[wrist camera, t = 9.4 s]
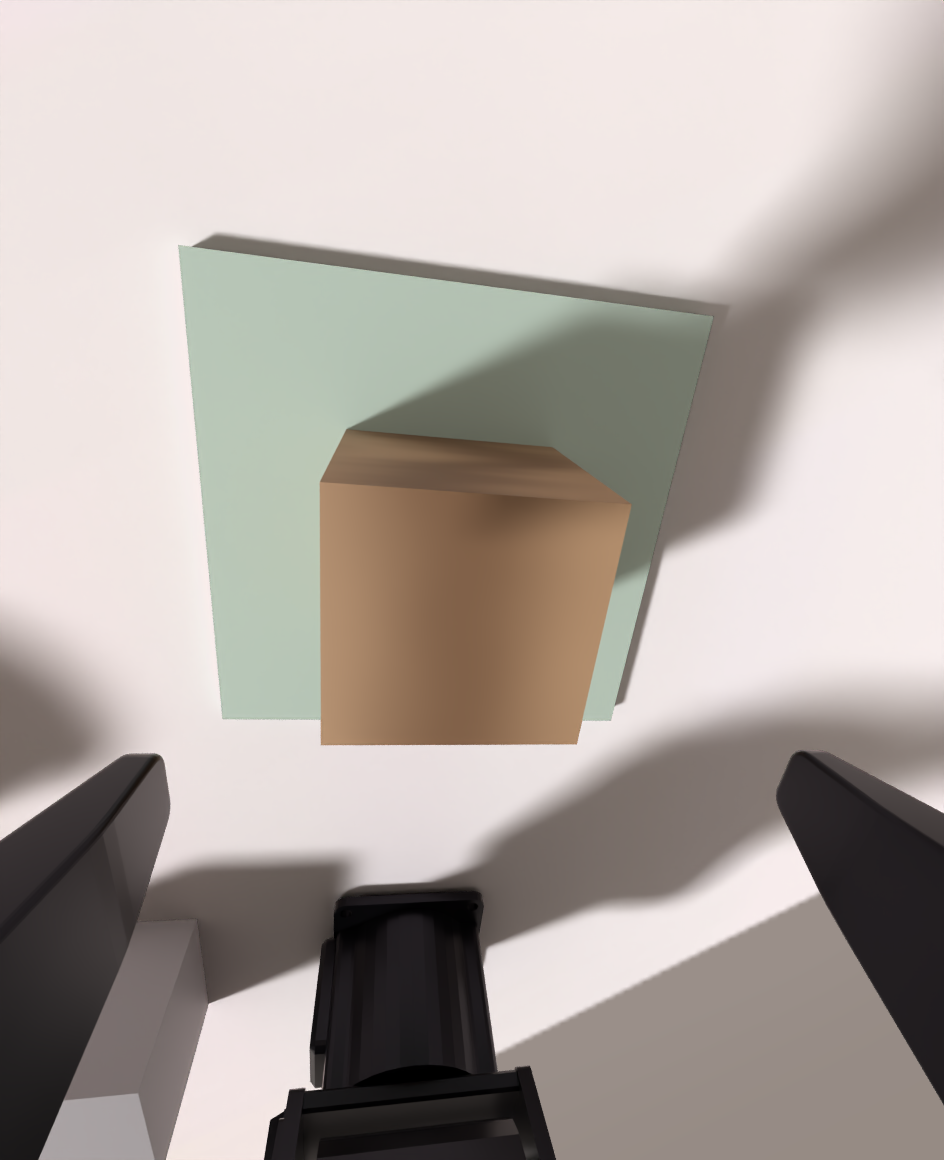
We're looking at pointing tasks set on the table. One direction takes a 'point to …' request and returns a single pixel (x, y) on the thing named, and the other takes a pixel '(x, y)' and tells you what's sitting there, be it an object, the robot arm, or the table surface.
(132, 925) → the robot arm
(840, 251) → the table surface
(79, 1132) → the medium grey block
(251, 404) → the sage mat
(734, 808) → the table surface
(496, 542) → the tan cube
